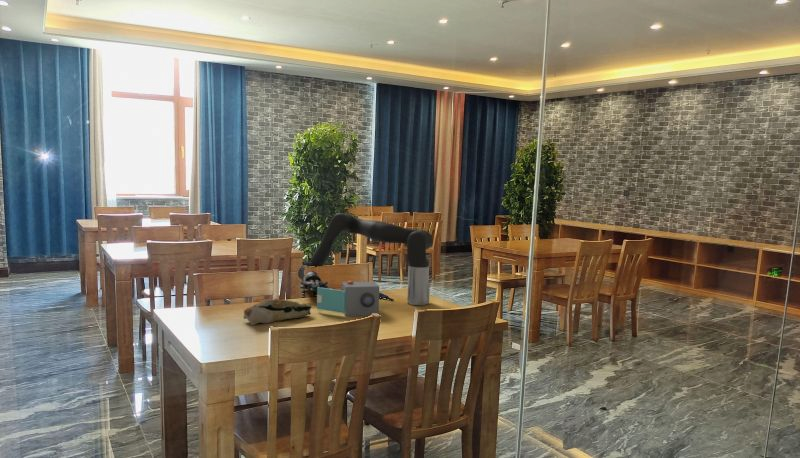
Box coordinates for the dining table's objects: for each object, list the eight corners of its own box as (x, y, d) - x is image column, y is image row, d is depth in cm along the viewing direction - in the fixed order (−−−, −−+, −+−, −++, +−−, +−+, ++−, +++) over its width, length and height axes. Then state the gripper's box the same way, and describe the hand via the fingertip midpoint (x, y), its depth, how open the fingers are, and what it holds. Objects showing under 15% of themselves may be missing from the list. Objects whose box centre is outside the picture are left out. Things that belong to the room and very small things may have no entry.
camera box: (373, 308, 237) (374, 279, 236) (379, 315, 226) (380, 284, 225) (341, 309, 234) (341, 279, 232) (345, 317, 222) (346, 285, 221)
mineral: (306, 293, 226) (317, 301, 219) (303, 313, 228) (314, 323, 221) (244, 295, 210) (254, 305, 203) (241, 318, 212) (251, 328, 204)
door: (318, 308, 229) (318, 287, 228) (344, 312, 224) (345, 290, 223) (315, 309, 228) (316, 287, 227) (342, 313, 222) (343, 291, 221)
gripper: (298, 273, 254) (301, 280, 238) (326, 272, 258) (331, 280, 241) (297, 289, 255) (301, 297, 238) (326, 288, 258) (331, 297, 242)
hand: (316, 289), depth 240 cm, fingers closed
